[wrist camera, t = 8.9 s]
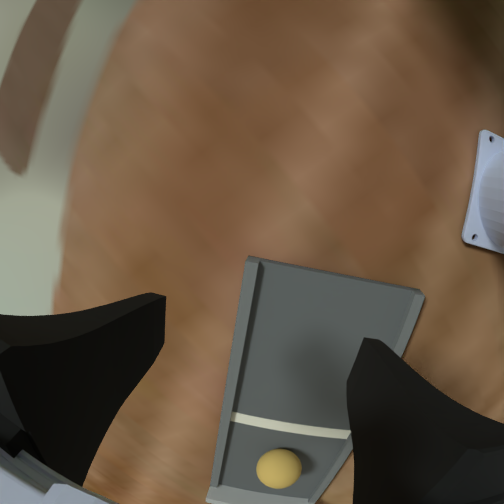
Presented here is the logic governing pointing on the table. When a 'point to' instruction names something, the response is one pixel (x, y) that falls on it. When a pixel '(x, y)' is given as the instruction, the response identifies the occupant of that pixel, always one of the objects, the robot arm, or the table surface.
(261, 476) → the ball
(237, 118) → the table surface
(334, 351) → the lane mat
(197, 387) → the table surface
